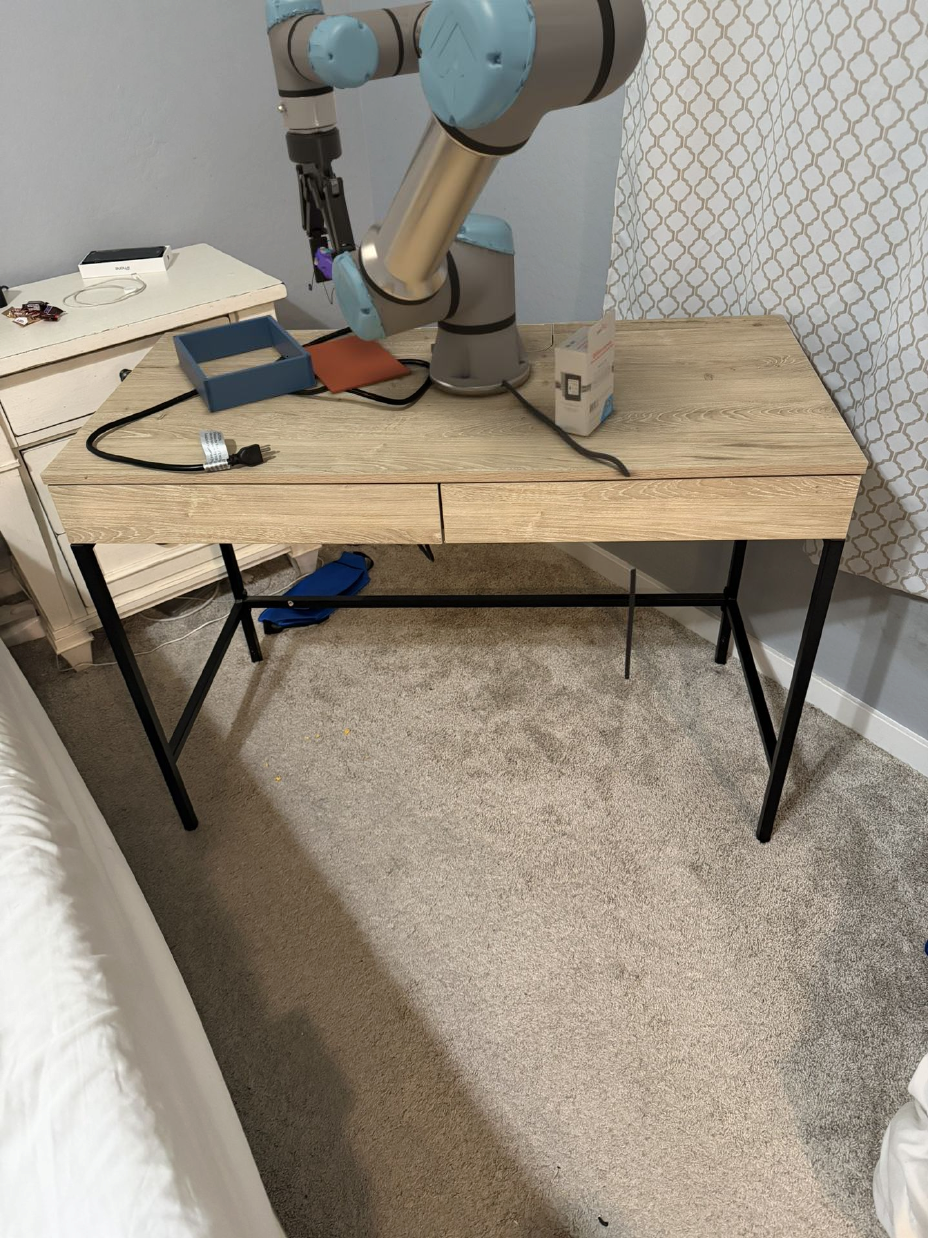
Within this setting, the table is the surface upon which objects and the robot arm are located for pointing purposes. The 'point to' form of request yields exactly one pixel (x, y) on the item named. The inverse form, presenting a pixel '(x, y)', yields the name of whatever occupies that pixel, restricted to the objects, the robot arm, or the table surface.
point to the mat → (353, 363)
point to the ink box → (585, 377)
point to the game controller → (324, 265)
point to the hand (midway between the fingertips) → (335, 289)
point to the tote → (248, 381)
